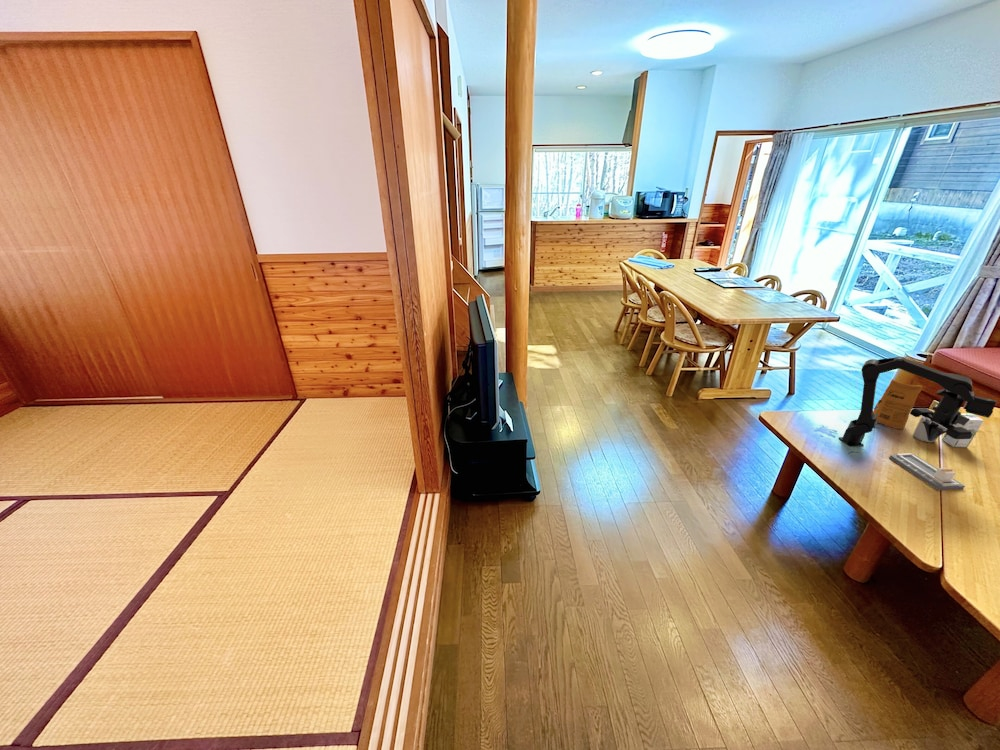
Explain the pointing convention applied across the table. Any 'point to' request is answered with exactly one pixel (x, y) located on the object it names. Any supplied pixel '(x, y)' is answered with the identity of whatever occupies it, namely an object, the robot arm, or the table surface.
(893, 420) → the coffee package
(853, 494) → the table surface
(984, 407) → the robot arm
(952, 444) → the syrup box
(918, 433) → the can
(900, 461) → the fader console
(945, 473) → the fader knob
